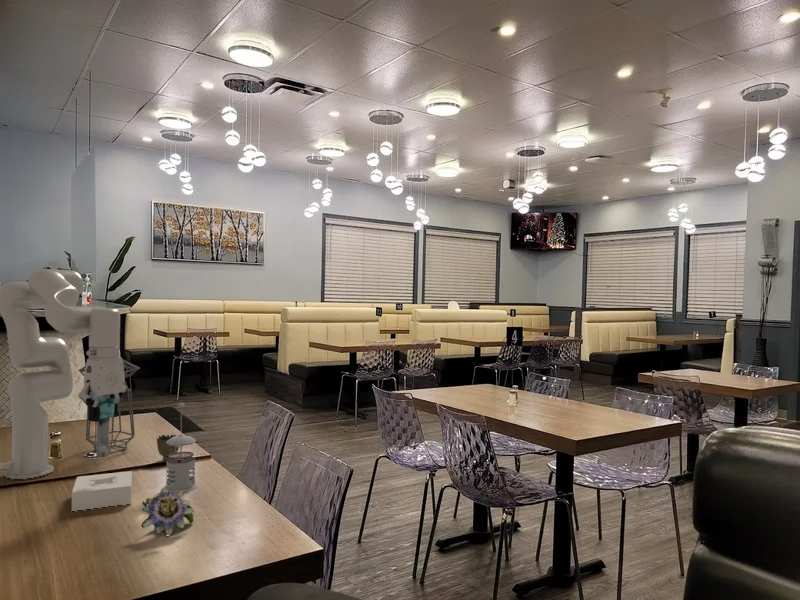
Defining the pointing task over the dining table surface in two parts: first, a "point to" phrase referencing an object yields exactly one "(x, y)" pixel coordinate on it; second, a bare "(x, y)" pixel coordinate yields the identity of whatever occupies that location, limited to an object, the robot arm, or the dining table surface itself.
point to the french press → (180, 472)
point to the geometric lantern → (119, 412)
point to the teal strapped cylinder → (104, 425)
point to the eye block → (102, 490)
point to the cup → (165, 446)
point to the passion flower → (167, 511)
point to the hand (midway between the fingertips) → (103, 418)
